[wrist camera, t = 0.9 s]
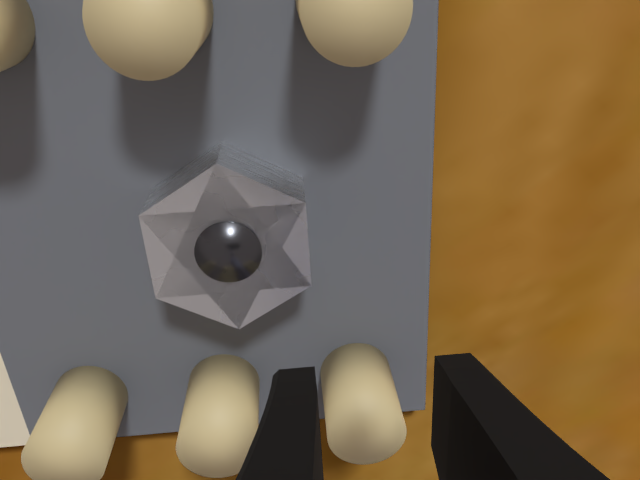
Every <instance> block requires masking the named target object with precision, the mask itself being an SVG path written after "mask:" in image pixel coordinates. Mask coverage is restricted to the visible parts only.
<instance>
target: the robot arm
mask: <svg viewBox="0 0 640 480" xmlns="http://www.w3.org/2000/svg"><path fill="white" fill-rule="evenodd" d="M431 446H432V451H433V455H434V459H435V464H436V468H437V472H438V477H439V480H610V479H609V478H607V477H606V476H605V475H604V474H602V473H601V472H600V471H599V470H597V469H596V468H595V467H594V466H593V465H591V464H590V463H589V462H588V461H586V460H585V459H584V458H583V457H582V456H580V455H579V454H578V453H577V452H576V451H575V450H573V449H572V448H571V447H570V446H569V445H568V444H566V443H565V442H564V441H563V440H562V439H561V438H560V437H559V436H557V435H556V434H555V433H554V432H553V431H552V430H551V429H550V428H549V427H547V426H546V425H545V424H544V423H543V422H542V421H541V420H540V419H538V418H537V417H536V416H535V415H534V414H533V413H532V412H531V411H530V410H529V409H528V408H527V407H526V406H524V405H523V404H522V403H521V402H520V401H519V400H518V399H517V398H516V397H515V396H514V395H513V394H512V393H511V392H510V391H509V390H508V389H507V388H506V387H505V386H504V385H503V384H502V383H501V382H500V381H499V380H498V379H497V378H495V377H494V376H493V375H492V374H491V373H490V372H489V371H488V370H487V369H486V368H485V367H484V366H483V365H482V364H481V363H480V362H479V361H478V360H477V359H476V358H475V357H474V356H473V355H472V354H471V353H464V354H453V355H441V356H435V364H434V388H433V413H432V438H431ZM236 480H324V478H323V464H322V450H321V436H320V422H319V407H318V393H317V384H316V375H315V366H313V367H301V368H290V369H279V370H278V371H277V372H276V373H275V374H274V375H273V378H272V384H271V388H270V392H269V396H268V399H267V403H266V406H265V409H264V412H263V415H262V418H261V420H260V423H259V426H258V429H257V431H256V434H255V436H254V439H253V441H252V443H251V446H250V448H249V451H248V453H247V456H246V458H245V460H244V463H243V465H242V467H241V469H240V472H239V474H238V476H237V478H236Z"/></svg>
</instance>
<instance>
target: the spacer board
mask: <svg viewBox="0 0 640 480" xmlns="http://www.w3.org/2000/svg"><path fill="white" fill-rule="evenodd" d="M437 30H438V0H0V447H11V446H22V445H25V447H24V449H23V451H22V454H21V463H22V466H23V468H24V470H25V472H26V473H27V475H28V476H29V477H30V478H31V479H32V480H100V479H101V478H102V476H103V475H104V472H105V469H106V466H107V463H108V460H109V457H110V454H111V451H112V448H113V445H114V442H115V439H116V437H123V436H134V435H146V434H157V433H168V432H178V437H177V442H176V453H177V456H178V458H179V460H180V461H181V463H182V464H183V465H184V466H185V467H186V468H187V469H189V470H190V471H192V472H194V473H196V474H198V475H201V476H205V477H211V478H223V477H229V476H233V475H236V474H238V473H239V472H240V469H241V467H242V465H243V463H244V460H245V458H246V456H247V453H248V451H249V448H250V446H251V443H252V441H253V439H254V436H255V434H256V431H257V429H258V424H259V423H260V420H261V418H262V415H263V412H264V409H265V406H266V403H267V399H268V396H269V392H270V388H271V384H272V378H273V375H274V374H275V373H276V372H277V371H278V370H279V369H290V368H301V367H313V366H315V375H316V384H317V393H318V407H319V419H325V422H326V432H327V440H328V445H329V447H330V449H331V450H332V452H333V453H334V454H335V455H336V456H337V457H339V458H340V459H342V460H344V461H346V462H349V463H353V464H373V463H377V462H380V461H383V460H385V459H387V458H389V457H391V456H392V455H393V454H395V453H396V452H397V451H398V450H399V449H400V448H401V446H402V445H403V443H404V441H405V438H406V432H407V431H406V425H405V421H404V417H403V414H402V412H404V411H415V410H425V394H426V363H427V333H428V303H429V272H430V242H431V212H432V181H433V151H434V121H435V90H436V60H437ZM221 141H225V142H227V143H229V144H231V145H234V146H236V147H238V148H240V149H242V150H245V151H247V152H249V153H251V154H253V155H256V156H258V157H260V158H262V159H264V160H267V161H269V162H271V163H273V164H275V165H278V166H280V167H282V168H284V169H286V170H289V171H291V172H293V173H295V174H297V175H300V176H302V177H303V184H304V192H305V200H306V213H307V227H308V242H309V256H310V271H311V285H312V286H310V287H309V288H307V289H305V290H304V291H302V292H300V293H299V294H297V295H295V296H294V297H292V298H290V299H289V300H287V301H285V302H284V303H282V304H280V305H279V306H277V307H275V308H274V309H272V310H270V311H269V312H267V313H265V314H264V315H262V316H260V317H259V318H257V319H255V320H254V321H252V322H250V323H249V324H247V325H245V326H244V327H242V328H240V329H237V328H234V327H232V326H229V325H226V324H223V323H221V322H218V321H215V320H213V319H210V318H207V317H205V316H202V315H199V314H196V313H194V312H191V311H188V310H186V309H183V308H180V307H178V306H175V305H172V304H169V303H167V302H164V301H161V300H159V299H156V298H155V293H154V289H153V284H152V279H151V274H150V269H149V264H148V259H147V255H146V250H145V245H144V240H143V235H142V230H141V226H140V221H139V214H140V212H141V210H142V208H143V206H144V204H145V202H146V200H147V198H148V196H149V194H150V192H151V191H152V189H153V187H155V186H156V185H158V184H159V183H161V182H162V181H164V180H165V179H167V178H168V177H170V176H171V175H173V174H174V173H176V172H177V171H179V170H180V169H181V168H183V167H184V166H186V165H187V164H189V163H190V162H192V161H193V160H195V159H196V158H198V157H199V156H201V155H202V154H204V153H205V152H207V151H208V150H209V149H211V148H212V147H214V146H215V145H217V144H218V143H220V142H221Z"/></svg>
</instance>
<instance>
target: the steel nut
mask: <svg viewBox="0 0 640 480" xmlns="http://www.w3.org/2000/svg"><path fill="white" fill-rule="evenodd" d="M139 221H140V226H141V230H142V235H143V240H144V245H145V250H146V255H147V259H148V264H149V269H150V274H151V279H152V284H153V289H154V293H155V298H156V299H159V300H161V301H164V302H167V303H169V304H172V305H175V306H178V307H180V308H183V309H186V310H188V311H191V312H194V313H196V314H199V315H202V316H205V317H207V318H210V319H213V320H215V321H218V322H221V323H223V324H226V325H229V326H232V327H234V328H237V329H240V328H242V327H244V326H245V325H247V324H249V323H250V322H252V321H254V320H255V319H257V318H259V317H260V316H262V315H264V314H265V313H267V312H269V311H270V310H272V309H274V308H275V307H277V306H279V305H280V304H282V303H284V302H285V301H287V300H289V299H290V298H292V297H294V296H295V295H297V294H299V293H300V292H302V291H304V290H305V289H307V288H309V287H310V286H312V285H311V271H310V256H309V242H308V227H307V213H306V200H305V192H304V184H303V177H302V176H300V175H297V174H295V173H293V172H291V171H289V170H286V169H284V168H282V167H280V166H278V165H275V164H273V163H271V162H269V161H267V160H264V159H262V158H260V157H258V156H256V155H253V154H251V153H249V152H247V151H245V150H242V149H240V148H238V147H236V146H234V145H231V144H229V143H227V142H225V141H221V142H220V143H218V144H217V145H215V146H214V147H212V148H211V149H209V150H208V151H207V152H205V153H204V154H202V155H201V156H199V157H198V158H196V159H195V160H193V161H192V162H190V163H189V164H187V165H186V166H184V167H183V168H181V169H180V170H179V171H177V172H176V173H174V174H173V175H171V176H170V177H168V178H167V179H165V180H164V181H162V182H161V183H159V184H158V185H156V186H155V187H153V189H152V191H151V192H150V194H149V196H148V198H147V200H146V202H145V204H144V206H143V208H142V210H141V212H140V214H139Z"/></svg>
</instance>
